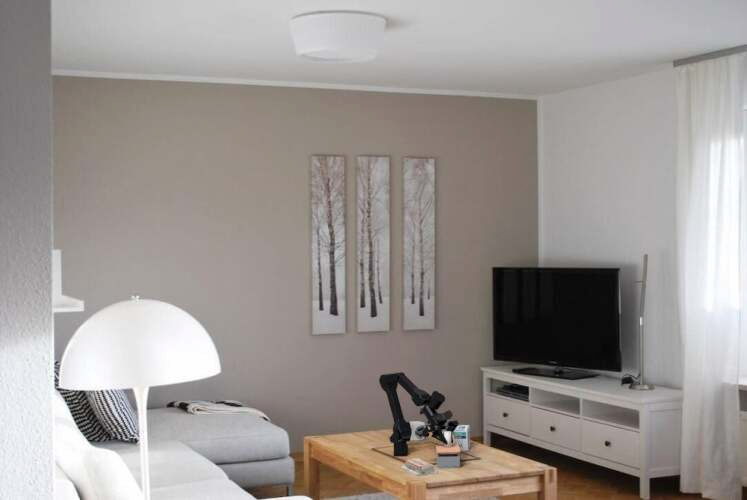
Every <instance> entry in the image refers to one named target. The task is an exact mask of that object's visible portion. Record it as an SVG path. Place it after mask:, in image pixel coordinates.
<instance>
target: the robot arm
mask: <svg viewBox="0 0 747 500" xmlns="http://www.w3.org/2000/svg"><path fill="white" fill-rule="evenodd" d="M378 381H379V384H380V387H381V390H383V391H384V392H385V393H386V397H387V400H388V404H389V408H390V411H391V414H392V415H391V416H392V420H393V424H392V425H393V426H392V434H391V435H390V437H389V442H390V443H392V444H393V457H402V456H403V457H405V456H406V457H407V456H408V454H409V444H408V443H407V442H411V441H410V438H411V434H412V431H411V430H412V429H411V426H410V422H411V421H406V419H405V417H404V414H403V410H402V406H401V402H400V398H399V394H398V391H397V389H398V386H400V387H402V389H404V390H405V391H406V392H407V393H408V394H409V395H410V397H411V401H412V402H413V404H414V405H415V406H416V407H421V408H420V410H419V415H424V416H425V418H426V419H427V421H426V423H427V424H425V428H424V429H423V431H422V435H423V436H424V437H425V438H428V437H431V438H433V439H436V440H437V441H439V442H441V443H442V444H443V445H444V444H446V445H447V444H448V443H447V440H446V439H445V437H444V431H451V444H453V443H454V438H453V437H454V436H453V433H454V430H455V429H456V428H457V426H458V425H460V424H459V421H458V419H457V420H456V419H453V420H452V418H453V417H454V415H453V412H452V411H451V410H450V409H448V410H446V411H444V412H442V413H439V412H438V410H439V409H440V408H441V407H442V406H443V404H444V403H445V402H446V397H445V395H444V394H442V393H441V392H438V390H434V391H432V393H431V394H430V393H429V392H427V391H425V390H424V389H421V388H419V387H418V386H417V385H416V384H414V382H412V380H411V379H409V378H408V377H407V375H406V373H405V372H402V371H399V372H398V371H397V372H395V373H394V372H391V373H384V374H381V375H380V377H379V379H378ZM450 419H451V420H450ZM448 420H449V422H448ZM446 423H447V424H446ZM430 433H431V436H430Z"/></svg>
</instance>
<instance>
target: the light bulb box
mask: <svg viewBox="0 0 747 500" xmlns="http://www.w3.org/2000/svg"><path fill="white" fill-rule="evenodd" d="M470 427H471V425H470V424H459V425H458V426H457V428H456V429H455V430H454V431H453V437H454V438H453V442H454V445H459V447H460V452H462V451H465V452H466V451H469V450H470V448H471V428H470Z"/></svg>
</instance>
